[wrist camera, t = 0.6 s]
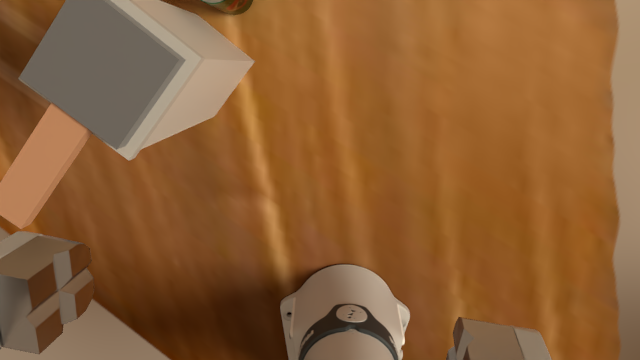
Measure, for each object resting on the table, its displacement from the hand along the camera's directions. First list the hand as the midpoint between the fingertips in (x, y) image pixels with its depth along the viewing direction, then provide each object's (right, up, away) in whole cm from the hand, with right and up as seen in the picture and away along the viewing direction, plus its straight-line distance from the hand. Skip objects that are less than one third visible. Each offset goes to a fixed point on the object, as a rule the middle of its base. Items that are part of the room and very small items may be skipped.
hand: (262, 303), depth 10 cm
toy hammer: (-17, +7, +23) cm, 30 cm away
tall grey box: (-13, +17, +48) cm, 52 cm away
